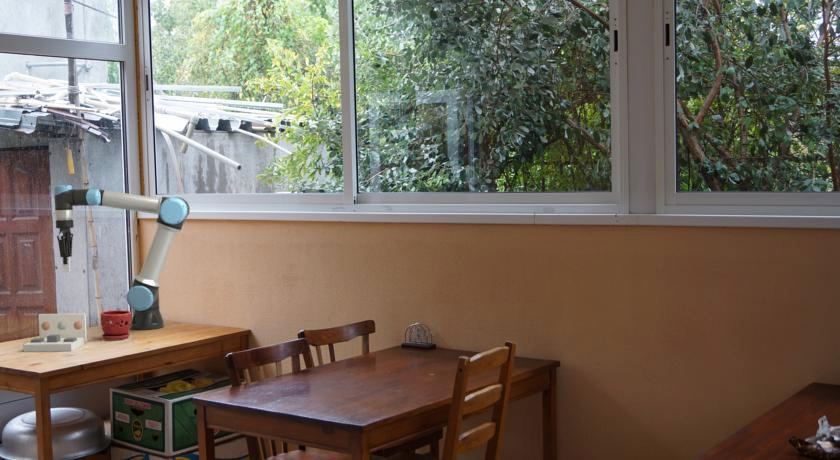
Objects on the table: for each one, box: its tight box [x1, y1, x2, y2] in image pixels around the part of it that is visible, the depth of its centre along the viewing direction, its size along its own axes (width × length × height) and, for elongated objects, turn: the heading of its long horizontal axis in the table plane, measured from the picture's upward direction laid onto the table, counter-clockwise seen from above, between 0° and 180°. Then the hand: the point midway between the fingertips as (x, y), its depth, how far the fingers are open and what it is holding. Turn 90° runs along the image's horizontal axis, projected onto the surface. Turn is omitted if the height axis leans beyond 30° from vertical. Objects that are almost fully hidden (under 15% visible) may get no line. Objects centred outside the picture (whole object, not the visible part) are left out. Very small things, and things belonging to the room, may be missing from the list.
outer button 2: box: [30, 337, 44, 343], centre depth 395 cm, size 4×4×3 cm
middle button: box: [47, 334, 60, 342], centre depth 395 cm, size 4×4×3 cm
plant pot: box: [100, 309, 133, 341], centre depth 415 cm, size 13×13×12 cm
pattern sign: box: [38, 312, 88, 342], centre depth 405 cm, size 20×5×13 cm, turn 89°
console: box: [22, 338, 85, 353], centre depth 395 cm, size 20×14×3 cm
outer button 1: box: [64, 337, 77, 342], centre depth 395 cm, size 4×4×3 cm
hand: (66, 271), depth 423 cm, fingers closed
